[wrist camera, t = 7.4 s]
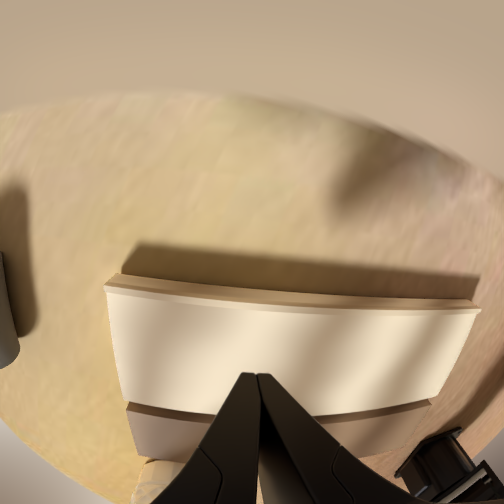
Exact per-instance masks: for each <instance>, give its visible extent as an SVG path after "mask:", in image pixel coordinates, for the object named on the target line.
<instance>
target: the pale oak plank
mask: <svg viewBox="0 0 504 504" xmlns="http://www.w3.org/2000/svg"><path fill="white" fill-rule="evenodd" d="M103 286H104V292H107V303H108V313H109V321H110V329H111V336H112V343H113V349H114V355H115V361H116V367H117V372H118V377H119V382H120V386H121V391H122V395H123V399H124V400H126V401H130V402H135V403H139V404H144V405H150V406H155V407H161V408H167V409H173V410H180V411H187V412H195V413H204V414H215V415H217V413H218V411H219V410H220V408H221V406H222V405H223V403H224V401H225V399H226V398H227V396H228V394H229V393H230V391H231V389H232V387H233V386H234V384H235V382H236V380H237V379H238V377H239V375H240V373H241V372H253V373H255V374H257V373H270V374H271V375H272V376H273V377H274V378H275V379H276V380H277V381H278V382H279V383H280V384H281V385H282V386H283V387H284V388H285V389H286V390H287V391H288V392H289V393H290V394H291V396H292V397H293V398H294V399H295V400H296V401H297V402H298V403H299V404H300V405H301V406H302V407H303V408H304V409H305V410H306V411H307V412H308V413H309V414H310V415H311V416H319V415H331V414H342V413H351V412H359V411H366V410H373V409H379V408H385V407H390V406H396V405H401V404H405V403H410V402H414V401H419V400H423V399H427V398H431V397H435V396H437V395H438V393H439V391H440V390H441V388H442V386H443V385H444V383H445V381H446V379H447V377H448V375H449V374H450V372H451V370H452V368H453V366H454V364H455V362H456V360H457V358H458V356H459V354H460V352H461V350H462V348H463V345H464V343H465V341H466V339H467V336H468V334H469V332H470V329H471V327H472V324H473V322H474V319H475V317H476V314H477V313H480V312H481V308H480V307H478V306H477V305H475V304H474V303H472V302H471V301H469V300H468V299H412V298H383V297H361V296H343V295H326V294H311V293H297V292H284V291H271V290H260V289H248V288H238V287H227V286H217V285H208V284H199V283H189V282H181V281H172V280H164V279H156V278H148V277H140V276H133V275H125V274H118V273H116V274H115V275H114V276H113V277H112V278H111V279H110V280H108V281H107V282H106V283H105V284H104V285H103Z"/></svg>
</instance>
